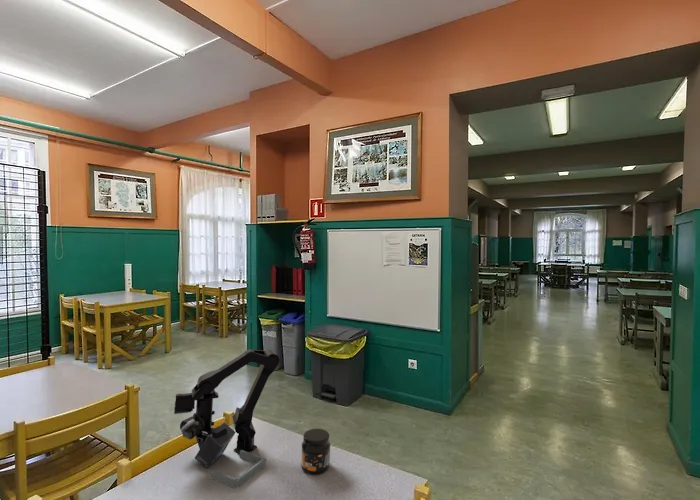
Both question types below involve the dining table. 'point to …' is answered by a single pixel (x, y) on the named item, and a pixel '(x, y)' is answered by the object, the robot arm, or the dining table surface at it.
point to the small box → (214, 447)
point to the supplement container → (315, 451)
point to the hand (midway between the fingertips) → (202, 451)
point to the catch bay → (245, 476)
